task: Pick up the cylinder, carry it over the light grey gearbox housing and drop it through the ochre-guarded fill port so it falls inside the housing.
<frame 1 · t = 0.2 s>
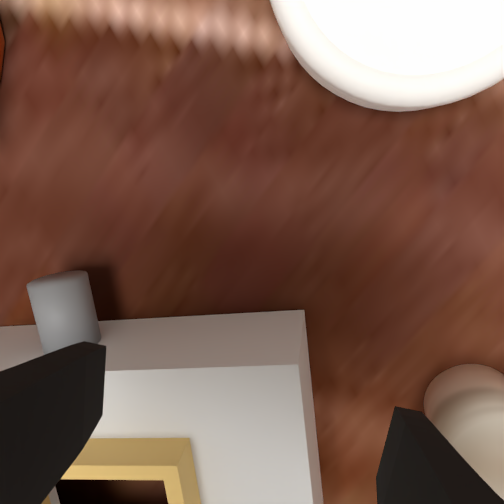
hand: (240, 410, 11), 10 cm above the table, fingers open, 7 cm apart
gearbox: (160, 435, 23), on the table
cylinder: (469, 403, 20), on the table
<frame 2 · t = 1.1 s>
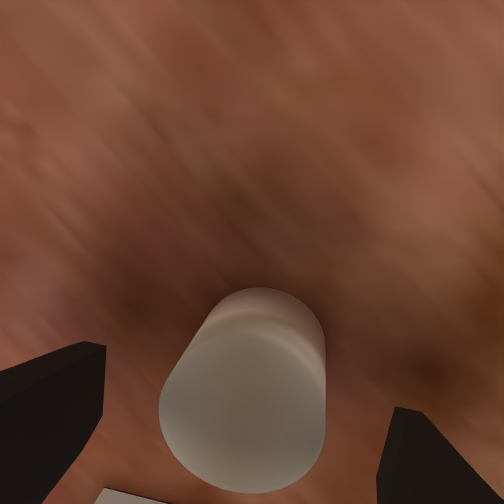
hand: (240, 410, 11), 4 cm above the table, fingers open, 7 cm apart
cylinder: (262, 346, 14), on the table
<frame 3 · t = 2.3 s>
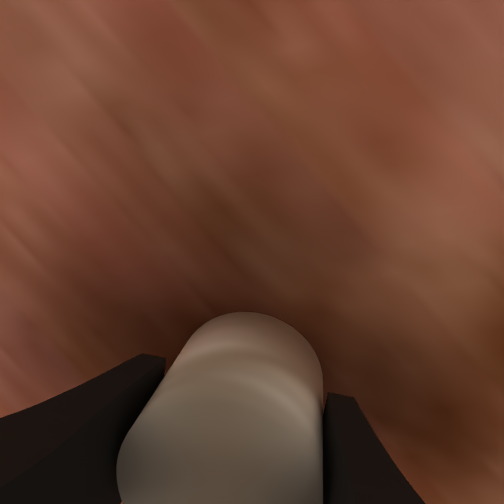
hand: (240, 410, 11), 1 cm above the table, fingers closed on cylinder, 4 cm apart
cylinder: (249, 379, 12), on the table, touching gripper
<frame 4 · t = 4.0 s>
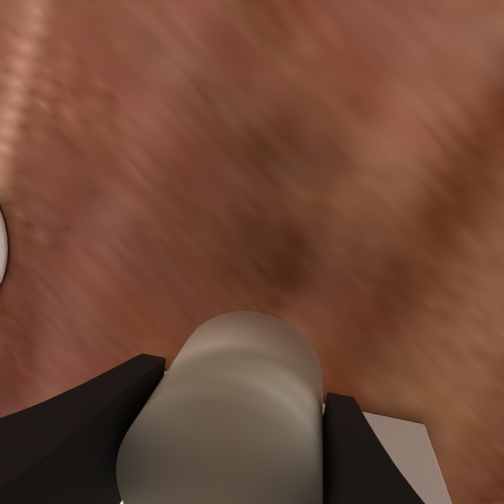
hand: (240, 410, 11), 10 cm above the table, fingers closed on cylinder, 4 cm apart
cylinder: (249, 378, 12), point 8 cm above the table, touching gripper
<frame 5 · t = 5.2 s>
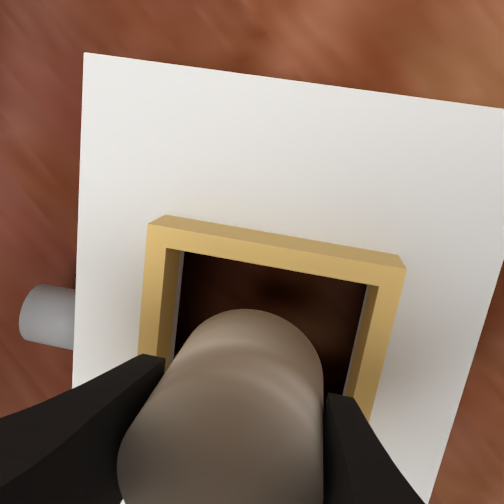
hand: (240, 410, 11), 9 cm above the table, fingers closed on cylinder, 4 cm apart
gearbox: (276, 289, 19), on the table
cylinder: (249, 376, 12), point 7 cm above the table, touching gripper
when the fingers open (9 cm above the table, at t = 5.9 s): cylinder drops 8 cm, resting in gearbox.
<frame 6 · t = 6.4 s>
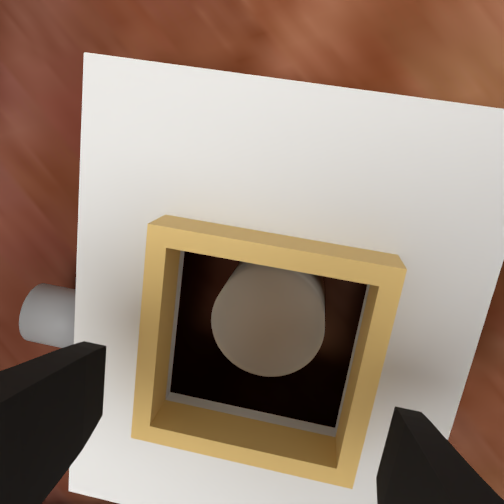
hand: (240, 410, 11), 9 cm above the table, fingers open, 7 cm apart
gearbox: (276, 289, 19), on the table
cylinder: (278, 287, 20), resting in gearbox
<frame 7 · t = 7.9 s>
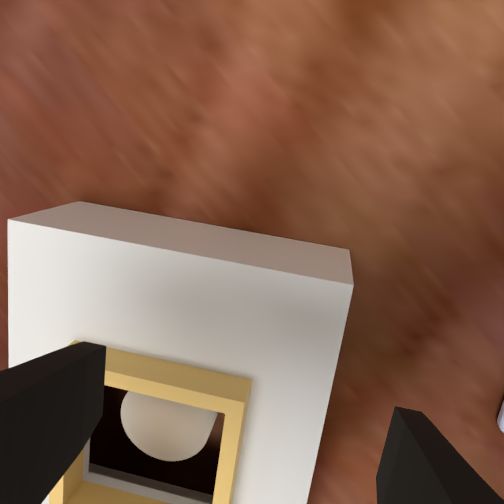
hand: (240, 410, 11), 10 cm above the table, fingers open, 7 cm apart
gearbox: (191, 375, 23), on the table
cylinder: (192, 373, 23), resting in gearbox
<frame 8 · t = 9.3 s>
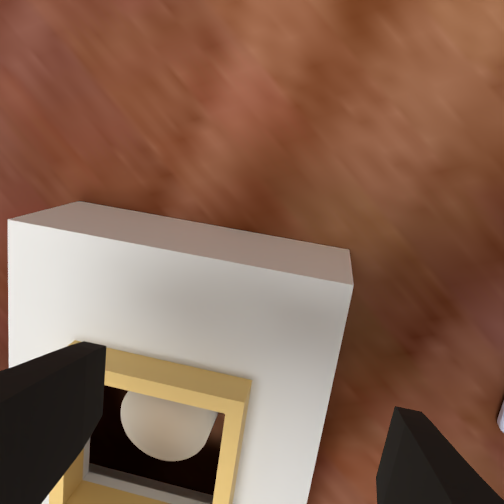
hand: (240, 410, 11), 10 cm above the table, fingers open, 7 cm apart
gearbox: (191, 375, 23), on the table
cylinder: (192, 374, 23), resting in gearbox
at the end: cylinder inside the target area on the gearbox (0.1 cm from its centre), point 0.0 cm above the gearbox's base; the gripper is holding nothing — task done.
